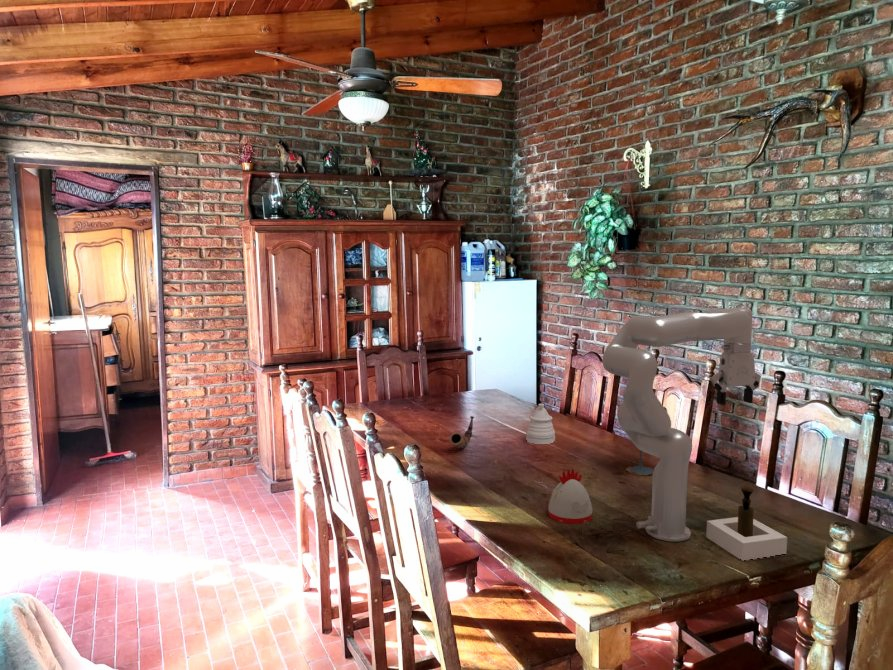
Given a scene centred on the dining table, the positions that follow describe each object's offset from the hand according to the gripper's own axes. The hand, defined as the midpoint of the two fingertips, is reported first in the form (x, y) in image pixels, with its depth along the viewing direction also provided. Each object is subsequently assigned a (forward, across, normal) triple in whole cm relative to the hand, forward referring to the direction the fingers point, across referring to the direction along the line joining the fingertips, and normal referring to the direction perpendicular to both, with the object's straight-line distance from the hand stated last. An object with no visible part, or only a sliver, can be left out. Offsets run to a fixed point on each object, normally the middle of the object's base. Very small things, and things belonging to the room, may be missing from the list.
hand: (734, 403), depth 191 cm
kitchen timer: (+37, -48, +14) cm, 62 cm away
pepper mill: (+36, -10, -19) cm, 42 cm away
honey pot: (+37, -26, +91) cm, 101 cm away
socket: (+36, -10, -19) cm, 42 cm away
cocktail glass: (+36, -4, +45) cm, 58 cm away
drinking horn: (+37, -60, +96) cm, 119 cm away
